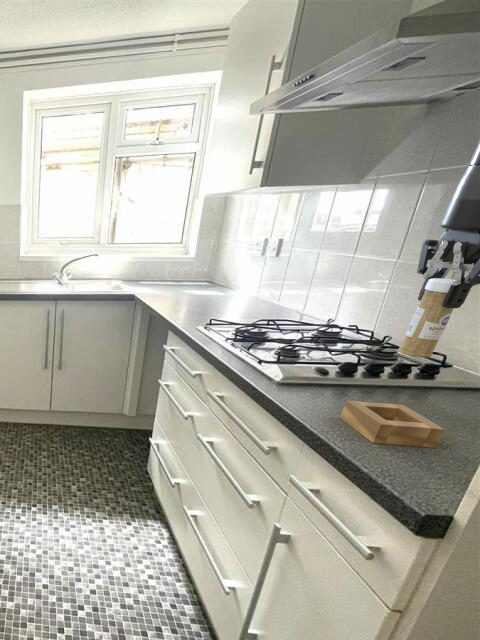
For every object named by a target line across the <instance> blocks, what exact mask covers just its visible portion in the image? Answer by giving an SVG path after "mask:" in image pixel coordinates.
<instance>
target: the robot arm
mask: <svg viewBox="0 0 480 640" xmlns="http://www.w3.org/2000/svg"><path fill="white" fill-rule="evenodd" d="M455 188H456V189H455V190H454V192H453V194H452V197H451V200H450V201H449V204H448V206H447V208H446V211H445V213H444V215H443V218H442V220H441V222H440V228H442V229H445V231H444V232H443V234H442V235H441V236H440V237H439V238H435V239H434V238H431V239H424V240H423V242H422V245H421V251H420V254H419V256H420V257H419V260H418V264H417V269H416V273H417V274H418V275H423V277H422V278H423V279H424V282H423V283H422V286H421V287H420V290H419V293H418V297H417V300H418V301H419V302H420V301H421V299H422V297H423V295H424V293H425V292H424V291H425V287H426V285H427V283H428V281H429V279H433V278H443V279H446V276H447V275H448V274H449V272H450V271H451V270H452V271H453V272H454V275H453V279H454V280H453V284H454V285H451V287H450V289H449V291H448V293H447V295H446V297H445V299H444V302H443V304H442V306H443V307H445V308H454V309H459V308H461V307H462V306H463V304H464V303H465V301H466V299H467V297H468V296H469V293H470V291H471V289H472V288H473V287H475V286H477V285H480V139H479V140H478V143H477V145H476V147H475V149H474V151H473V154H472V156H471V159H470V161H469V163H468V166H467V167H466V170H465V171H464V173H463V174H462V175H461V178H460V179H459V181H458V183H457V185H456V187H455ZM428 264H429V266H428ZM466 272H468V274H467V275H466ZM465 275H466V276H465Z"/></svg>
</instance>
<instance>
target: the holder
mask: <svg viewBox="0 0 480 640" xmlns="http://www.w3.org/2000/svg"><path fill="white" fill-rule="evenodd" d="M339 418H340V419H341V420H342V421H343V422H345V423H346V424H348V425H349V426H350V427H352V429H354V430H355V431H357V432H358V433H359V434H360V435H362V436H363V437H365V438H366V439H367V440H369V442H371V443H372V444H384V445H393V446H394V445H396V446H406V447H419V448H428V449H429V448H431V449H435V448H436V446H438V445H437V444H438V443H439V441H440V439H441V437H442V435H443V433H444V431H446V430H445V428H443V427H441V426H439V425H438V424H436V423H435V422H433V421H432V420H430V419H428V418H427V417H425V416H423V415H421V414H420V413H418V412H416V411H415V410H413V409H411V408H409V407H407V406H405V405H404V404H397V403H386V402H385V403H384V402H371V401H357V400H346V401H345V404H344V407H343V408H342V410H341V413H340V416H339Z"/></svg>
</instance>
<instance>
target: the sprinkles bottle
mask: <svg viewBox="0 0 480 640" xmlns="http://www.w3.org/2000/svg"><path fill="white" fill-rule="evenodd" d="M453 280H454V278H444V279H443V278H433V279H429V281H428V283H427V285H426V287H425V291H424V292H425V293H424V295H423V297H422V299H421V301H420V300H419V304H418V306H417V307H416V308H415V311H414V314H413V316H412V318H411V321H410V323H409V325H408V328H407V329H406V332H405V334H404V338H403V340H402V342H401V344H400V347H398V352H399V353H401V354H402V355H406V356H410V357H415V358H431V357H433V354H434V351H435V348H436V347H437V345H438V342H439V340H440V339H441V337H442V335H443V333H444V332H445V329H446V327H447V325H448V323H449V321H450V318H451V315H452V313H453V311H454V309H455V308H445V307H443V306H442V304H443V302H444V299H445V297H446V295H447V293H448V291H449V289H450V287H451V285H454V284H453Z"/></svg>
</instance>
